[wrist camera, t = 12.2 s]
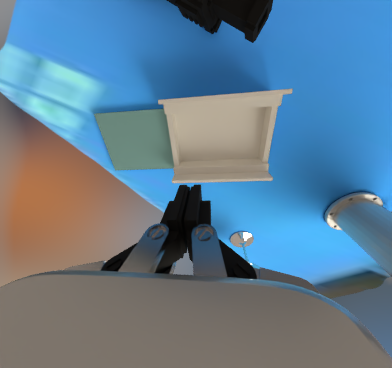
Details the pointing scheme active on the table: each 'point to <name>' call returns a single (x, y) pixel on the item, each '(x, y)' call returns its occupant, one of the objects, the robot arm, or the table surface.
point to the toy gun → (227, 14)
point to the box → (222, 136)
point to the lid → (137, 139)
